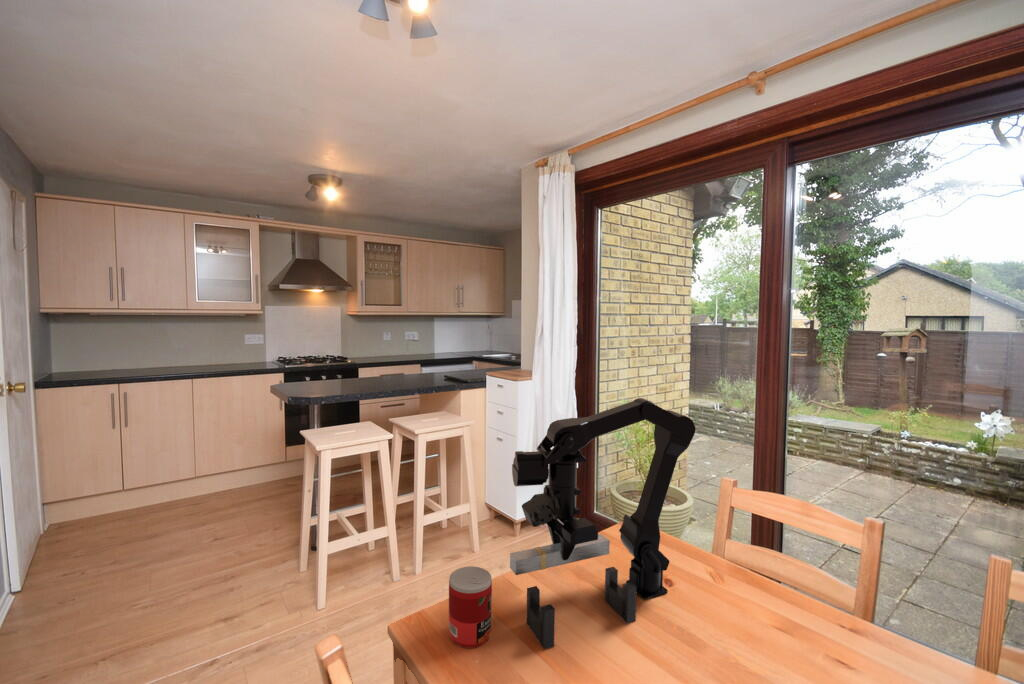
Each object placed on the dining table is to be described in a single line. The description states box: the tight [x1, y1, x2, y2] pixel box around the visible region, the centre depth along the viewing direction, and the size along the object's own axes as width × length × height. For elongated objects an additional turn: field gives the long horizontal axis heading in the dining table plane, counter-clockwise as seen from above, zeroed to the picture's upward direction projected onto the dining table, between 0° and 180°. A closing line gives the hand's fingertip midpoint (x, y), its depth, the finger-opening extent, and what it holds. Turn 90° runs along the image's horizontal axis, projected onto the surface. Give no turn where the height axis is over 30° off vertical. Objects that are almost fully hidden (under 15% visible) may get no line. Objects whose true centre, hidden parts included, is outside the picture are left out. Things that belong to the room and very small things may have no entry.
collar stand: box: [526, 566, 637, 650], centre depth 88 cm, size 20×8×7 cm, turn 113°
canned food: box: [448, 566, 493, 649], centre depth 84 cm, size 8×8×11 cm
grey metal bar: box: [509, 533, 611, 576], centre depth 95 cm, size 22×3×3 cm, turn 113°
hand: (561, 555), depth 95 cm, fingers closed on grey metal bar, 3 cm apart
